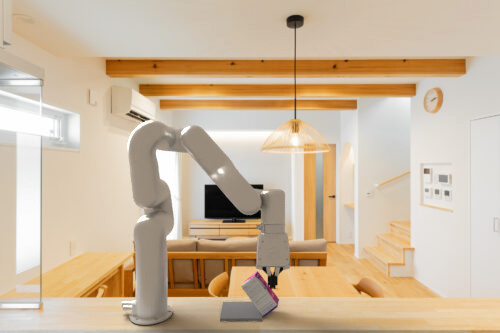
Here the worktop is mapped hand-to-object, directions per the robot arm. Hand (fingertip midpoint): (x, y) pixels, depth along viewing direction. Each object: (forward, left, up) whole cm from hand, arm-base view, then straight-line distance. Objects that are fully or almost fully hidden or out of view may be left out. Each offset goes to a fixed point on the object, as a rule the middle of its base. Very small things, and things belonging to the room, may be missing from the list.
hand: (272, 287), depth 97 cm
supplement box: (0, 0, -7) cm, 7 cm away
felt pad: (-10, +2, -8) cm, 13 cm away
